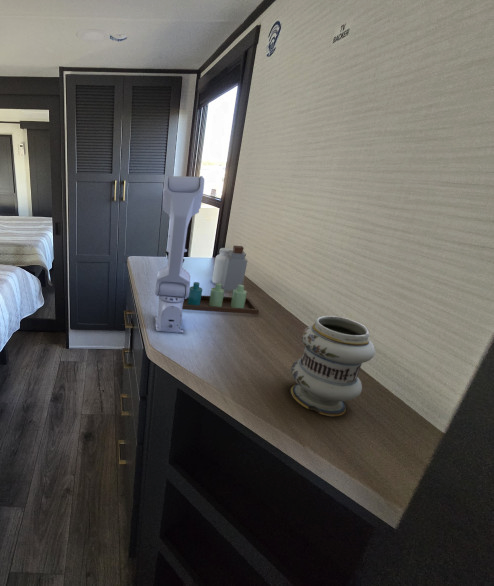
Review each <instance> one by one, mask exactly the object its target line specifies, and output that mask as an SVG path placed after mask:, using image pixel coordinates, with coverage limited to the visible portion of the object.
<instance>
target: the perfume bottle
mask: <svg viewBox="0 0 494 586" xmlns="http://www.w3.org/2000/svg"><path fill="white" fill-rule="evenodd" d="M244 248H245V247H244V246H242V245H233V246H232V249H233V250H229V255H226V260H225V265H224V271H223V277H222V283H221V284H222V286H221V288H222V289H224V291H232V292H233V290H234V289H237V288H238V285H244V281H245V275H246V270H247V266H248V259H247V258H246V256H247V253H246V252H245V251H244V250H245V249H244Z"/></svg>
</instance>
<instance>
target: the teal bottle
mask: <svg viewBox="0 0 494 586" xmlns="http://www.w3.org/2000/svg"><path fill="white" fill-rule="evenodd" d="M202 293H203V288H202V287H201V286H200V282H197V281H194V282H193V284H192V286H190V290H189V296H188V305H200V302H201V295H202Z"/></svg>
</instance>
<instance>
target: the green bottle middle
mask: <svg viewBox="0 0 494 586" xmlns="http://www.w3.org/2000/svg"><path fill="white" fill-rule="evenodd" d="M221 286H222V284H219V283H216V284H214V287H211V289H210V294H209V296H210V300H209V306H216V307H222V302H223V297H225V296H224V295H225V290H224V289H223V288H222V287H221Z"/></svg>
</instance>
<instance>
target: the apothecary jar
mask: <svg viewBox="0 0 494 586" xmlns="http://www.w3.org/2000/svg"><path fill="white" fill-rule="evenodd" d="M300 338H301V342H302V343H303V345H304V350H303V353H302V355H301V357H300V358H298V359H296V360H295V361H294V362H293V363H292V365H291V368H290V373H291V376H292V379H293V380H294V381H295V382H296V383H295V384H293V386H291V388H290V394H291V396H292V398H293V399H294V401H295V402H297V403H298V404H299V405H301V406H302V407H304V408H305V409H307V410H310V411H315V412H316V413H318V414H319V415H322V416H327V417H340V416H342V415H344V414H345V413H346V408H347V407H346V405H345V402H348V401H351V400H354V399H356V398H358V397H359V396H360V395H361V394H362V390H363V385H362V381H361V379H360V378H359V374H360V370H361V367H362V365H363V364H364V363H367V362H369V361H371V360H372V359H373V358H374V357H375V354H376V348H375V345H374V343H373V342H372V341H371V340H370V330H369V328H368V327H367V326H365V325H364V324H363V323H361V322H358V321H355V320H353V319H350V318H346V317H342V316H335V315H322V316H320V317H317V318H316V319H315V320H314V323H313V324H311V325H308V326H307V327H305V328H304V329H303V330H302V332H301V337H300Z"/></svg>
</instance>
